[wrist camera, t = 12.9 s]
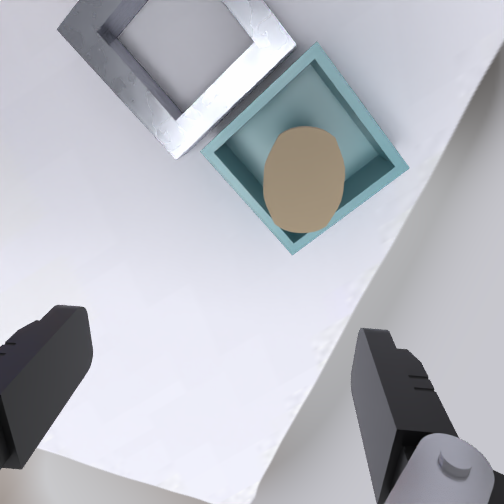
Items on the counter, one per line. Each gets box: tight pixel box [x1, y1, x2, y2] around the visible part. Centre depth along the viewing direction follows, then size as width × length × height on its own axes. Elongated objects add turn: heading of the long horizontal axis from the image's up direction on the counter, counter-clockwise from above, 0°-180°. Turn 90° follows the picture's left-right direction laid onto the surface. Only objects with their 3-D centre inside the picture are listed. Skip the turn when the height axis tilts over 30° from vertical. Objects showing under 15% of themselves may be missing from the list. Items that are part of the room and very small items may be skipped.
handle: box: [263, 126, 345, 233], centre depth 30 cm, size 5×6×15 cm
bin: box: [200, 42, 409, 255], centre depth 35 cm, size 12×12×7 cm
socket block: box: [57, 0, 297, 160], centre depth 33 cm, size 14×14×4 cm
